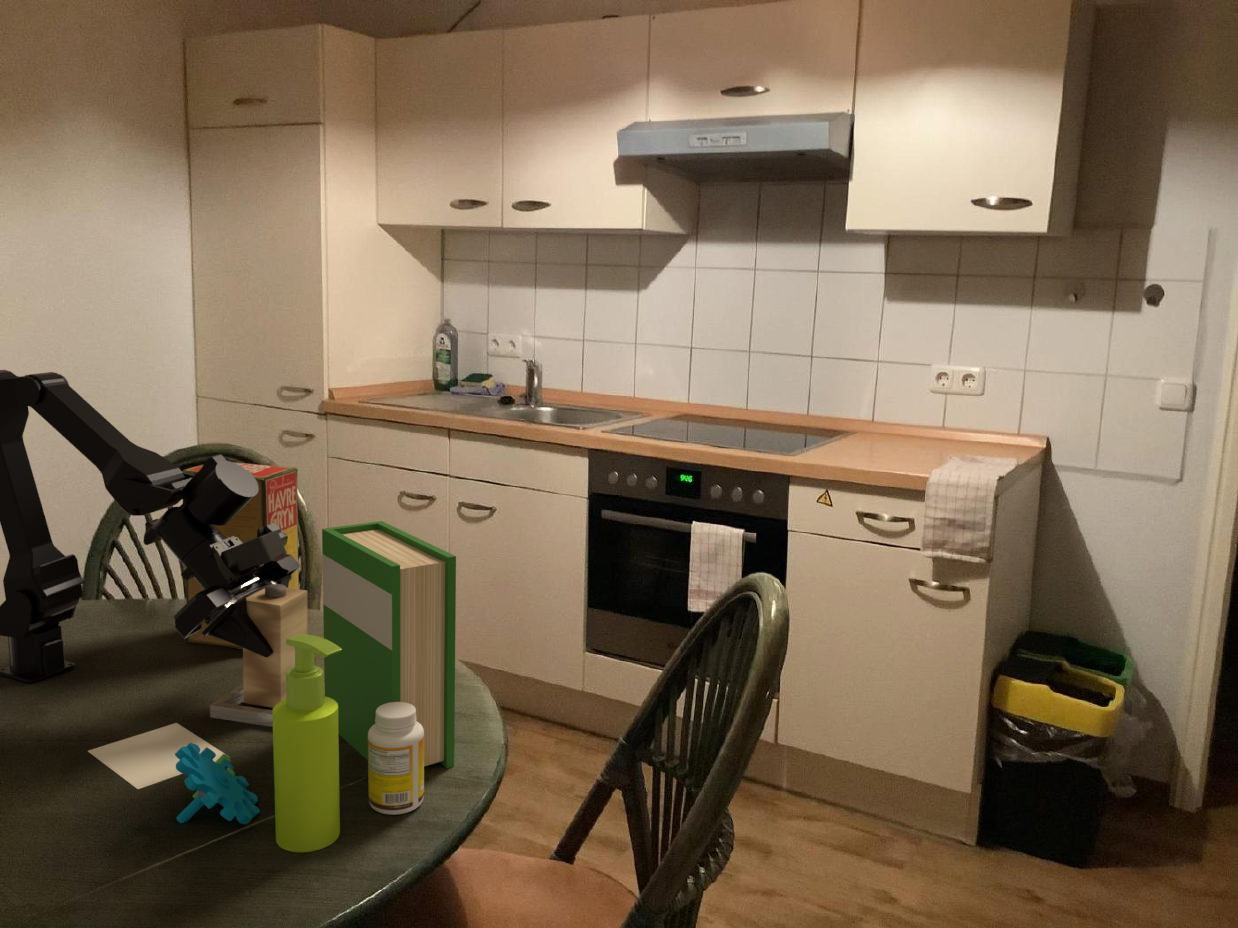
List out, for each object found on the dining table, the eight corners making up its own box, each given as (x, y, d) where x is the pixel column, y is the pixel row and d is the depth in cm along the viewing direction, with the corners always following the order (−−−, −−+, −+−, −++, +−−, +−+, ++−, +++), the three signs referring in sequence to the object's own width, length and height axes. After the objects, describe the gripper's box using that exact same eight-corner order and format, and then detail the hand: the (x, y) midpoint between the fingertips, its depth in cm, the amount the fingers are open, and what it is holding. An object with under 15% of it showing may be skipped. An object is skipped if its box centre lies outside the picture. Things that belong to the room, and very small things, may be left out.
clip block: (243, 702, 123) (242, 591, 120) (271, 683, 129) (270, 577, 126) (280, 709, 122) (280, 597, 119) (307, 689, 128) (307, 582, 125)
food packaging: (303, 631, 151) (300, 466, 147) (268, 653, 142) (263, 478, 138) (223, 621, 154) (218, 458, 150) (184, 642, 145) (176, 470, 141)
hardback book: (454, 766, 113) (456, 556, 108) (392, 784, 108) (391, 566, 104) (382, 709, 126) (381, 520, 122) (325, 724, 121) (322, 528, 117)
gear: (256, 828, 96) (175, 758, 94) (209, 875, 95) (126, 806, 93) (271, 786, 107) (199, 722, 105) (229, 828, 106) (156, 765, 104)
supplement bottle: (401, 783, 108) (401, 693, 106) (435, 802, 105) (435, 709, 103) (356, 803, 104) (356, 709, 102) (390, 823, 100) (390, 726, 99)
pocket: (210, 719, 122) (209, 704, 121) (262, 684, 132) (262, 671, 132) (293, 731, 119) (293, 717, 119) (340, 695, 130) (339, 681, 129)
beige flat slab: (87, 753, 112) (87, 750, 112) (176, 725, 120) (176, 722, 120) (138, 791, 105) (137, 788, 104) (229, 759, 112) (229, 756, 112)
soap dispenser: (312, 863, 93) (308, 656, 90) (262, 839, 97) (256, 639, 93) (360, 834, 98) (358, 637, 95) (310, 812, 102) (307, 622, 98)
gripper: (193, 525, 113) (284, 632, 113) (285, 492, 131) (364, 584, 130) (134, 585, 116) (223, 689, 116) (232, 544, 134) (309, 635, 134)
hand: (284, 645), depth 124 cm, fingers closed on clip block, 6 cm apart
